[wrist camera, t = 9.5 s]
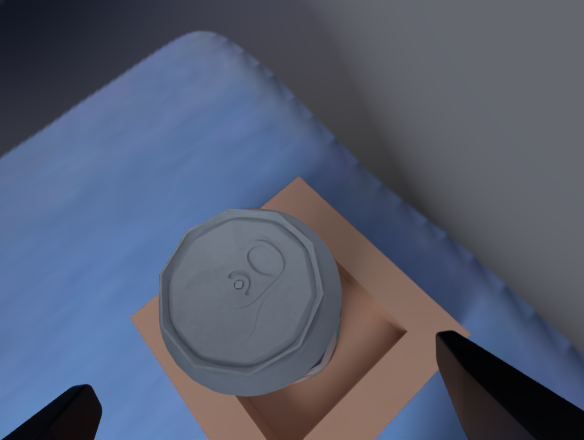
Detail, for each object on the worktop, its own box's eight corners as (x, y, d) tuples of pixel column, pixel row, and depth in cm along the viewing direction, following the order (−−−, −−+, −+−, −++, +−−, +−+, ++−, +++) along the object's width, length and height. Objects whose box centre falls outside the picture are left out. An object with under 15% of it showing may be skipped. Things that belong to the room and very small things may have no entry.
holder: (453, 338, 19) (470, 334, 16) (285, 518, 16) (277, 544, 14) (302, 195, 23) (298, 175, 21) (153, 323, 21) (130, 317, 18)
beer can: (233, 335, 19) (100, 289, 8) (292, 272, 20) (243, 159, 9) (295, 403, 18) (231, 457, 7) (356, 331, 19) (387, 277, 8)
